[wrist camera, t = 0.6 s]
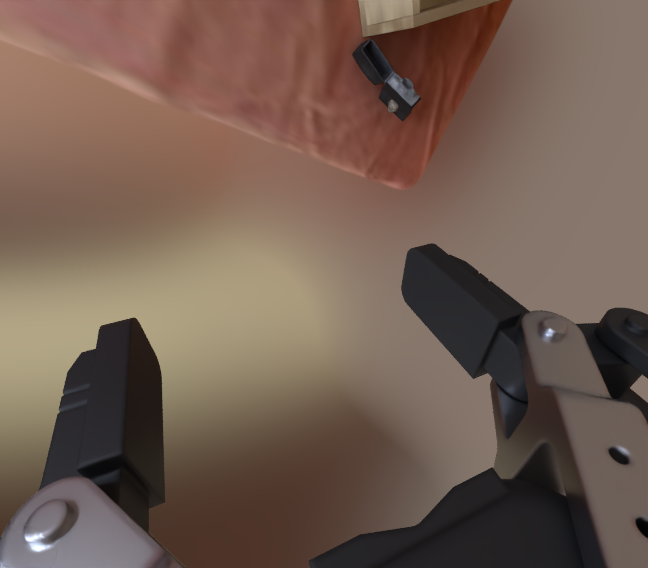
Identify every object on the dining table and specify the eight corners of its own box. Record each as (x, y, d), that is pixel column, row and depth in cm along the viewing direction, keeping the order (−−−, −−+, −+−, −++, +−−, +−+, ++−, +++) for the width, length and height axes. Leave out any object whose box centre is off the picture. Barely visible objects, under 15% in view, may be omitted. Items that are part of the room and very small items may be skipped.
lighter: (345, 73, 36) (350, 47, 31) (358, 58, 36) (364, 29, 31) (398, 126, 37) (411, 108, 32) (411, 111, 37) (426, 91, 32)
